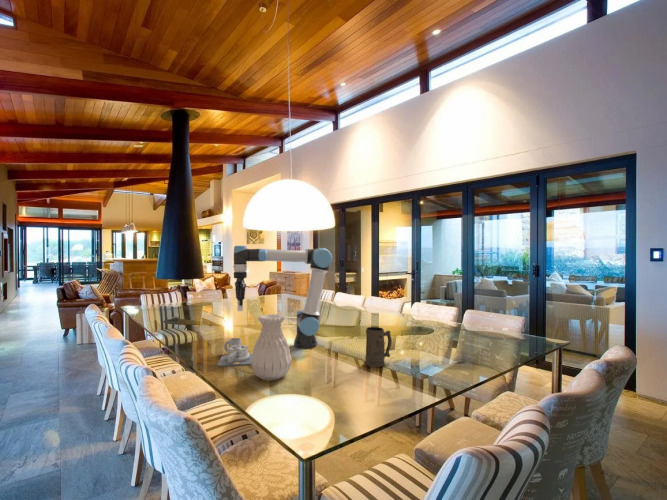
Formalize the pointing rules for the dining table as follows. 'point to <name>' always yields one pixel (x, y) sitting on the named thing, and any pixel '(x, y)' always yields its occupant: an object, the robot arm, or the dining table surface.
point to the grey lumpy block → (236, 352)
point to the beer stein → (376, 346)
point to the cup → (232, 343)
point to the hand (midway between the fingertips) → (240, 310)
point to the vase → (271, 350)
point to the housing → (237, 362)
